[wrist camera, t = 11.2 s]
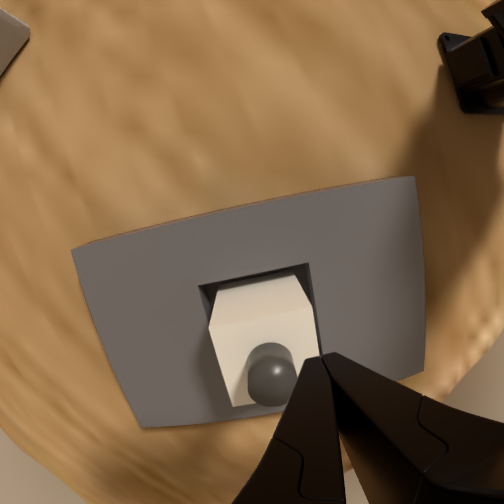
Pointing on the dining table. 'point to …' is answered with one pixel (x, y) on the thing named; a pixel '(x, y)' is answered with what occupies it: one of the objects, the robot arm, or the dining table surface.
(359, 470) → the robot arm
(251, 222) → the socket plate
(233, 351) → the plug
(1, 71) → the electrical switch
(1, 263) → the dining table surface
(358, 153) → the dining table surface
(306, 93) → the dining table surface
